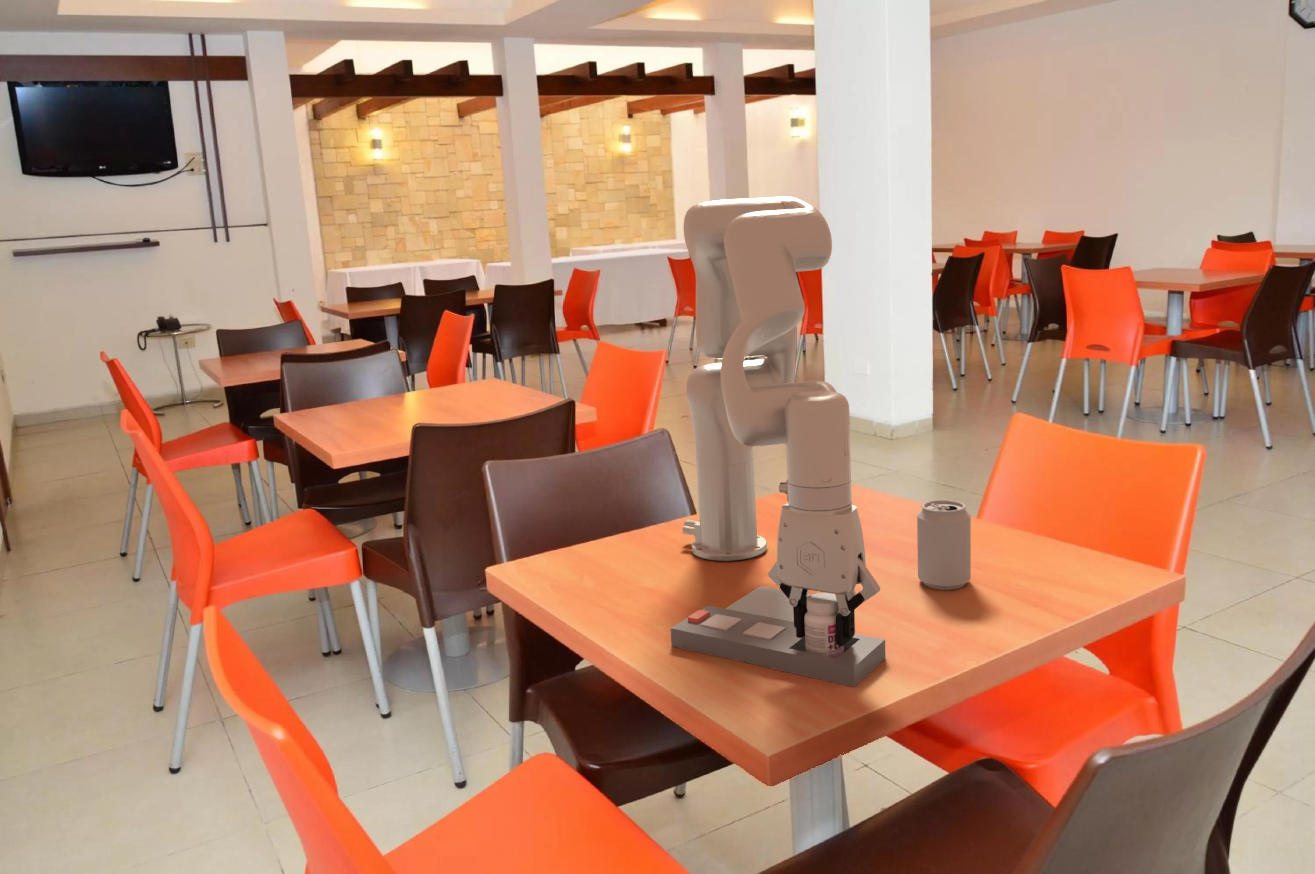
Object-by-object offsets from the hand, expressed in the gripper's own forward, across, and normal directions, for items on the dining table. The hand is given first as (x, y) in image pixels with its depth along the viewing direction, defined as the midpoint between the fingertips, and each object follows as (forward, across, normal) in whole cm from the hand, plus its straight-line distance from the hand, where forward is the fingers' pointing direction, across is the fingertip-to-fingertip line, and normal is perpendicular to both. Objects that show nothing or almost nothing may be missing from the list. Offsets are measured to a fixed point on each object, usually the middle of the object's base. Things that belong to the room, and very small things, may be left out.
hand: (824, 636), depth 127 cm
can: (+4, +3, +33) cm, 33 cm away
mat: (+3, -14, +13) cm, 19 cm away
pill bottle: (+4, 0, 0) cm, 4 cm away
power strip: (+3, -7, 0) cm, 8 cm away
